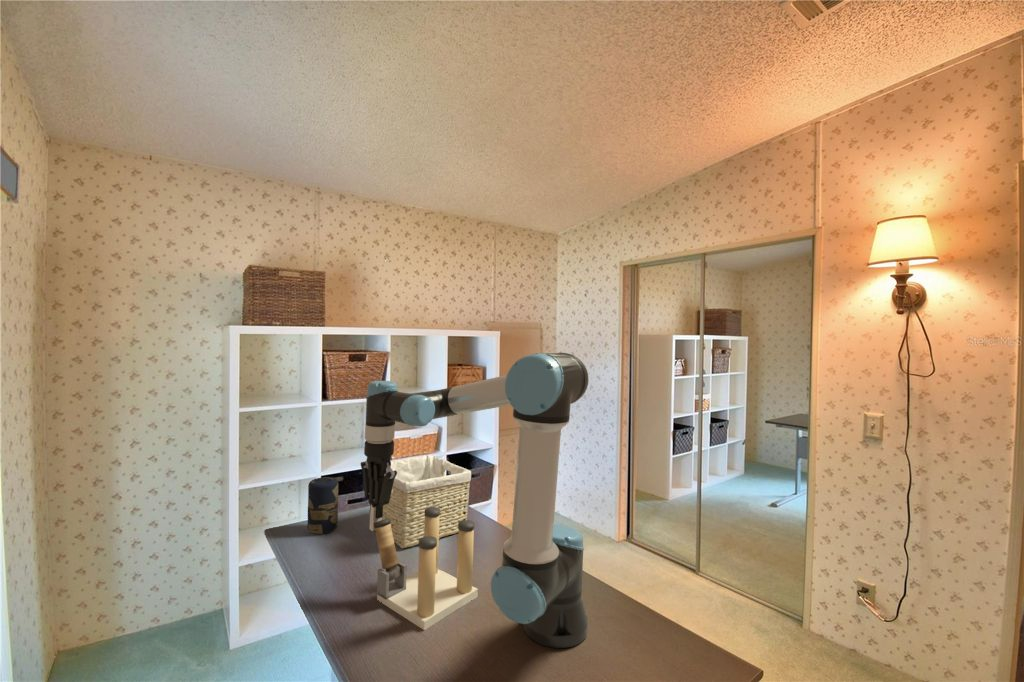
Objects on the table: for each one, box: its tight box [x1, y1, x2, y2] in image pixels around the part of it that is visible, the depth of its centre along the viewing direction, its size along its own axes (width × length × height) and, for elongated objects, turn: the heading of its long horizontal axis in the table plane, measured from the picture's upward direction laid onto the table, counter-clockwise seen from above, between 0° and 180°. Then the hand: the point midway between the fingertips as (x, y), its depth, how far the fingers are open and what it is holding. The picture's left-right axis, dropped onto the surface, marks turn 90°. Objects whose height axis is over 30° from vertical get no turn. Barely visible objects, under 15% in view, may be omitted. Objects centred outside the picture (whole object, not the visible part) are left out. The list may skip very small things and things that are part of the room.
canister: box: [307, 476, 339, 535], centre depth 155 cm, size 10×10×18 cm
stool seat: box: [376, 507, 479, 631], centre depth 117 cm, size 18×19×19 cm
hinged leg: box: [373, 518, 402, 582], centre depth 117 cm, size 14×4×4 cm
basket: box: [382, 454, 472, 549], centre depth 159 cm, size 27×27×22 cm
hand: (375, 528), depth 121 cm, fingers closed
